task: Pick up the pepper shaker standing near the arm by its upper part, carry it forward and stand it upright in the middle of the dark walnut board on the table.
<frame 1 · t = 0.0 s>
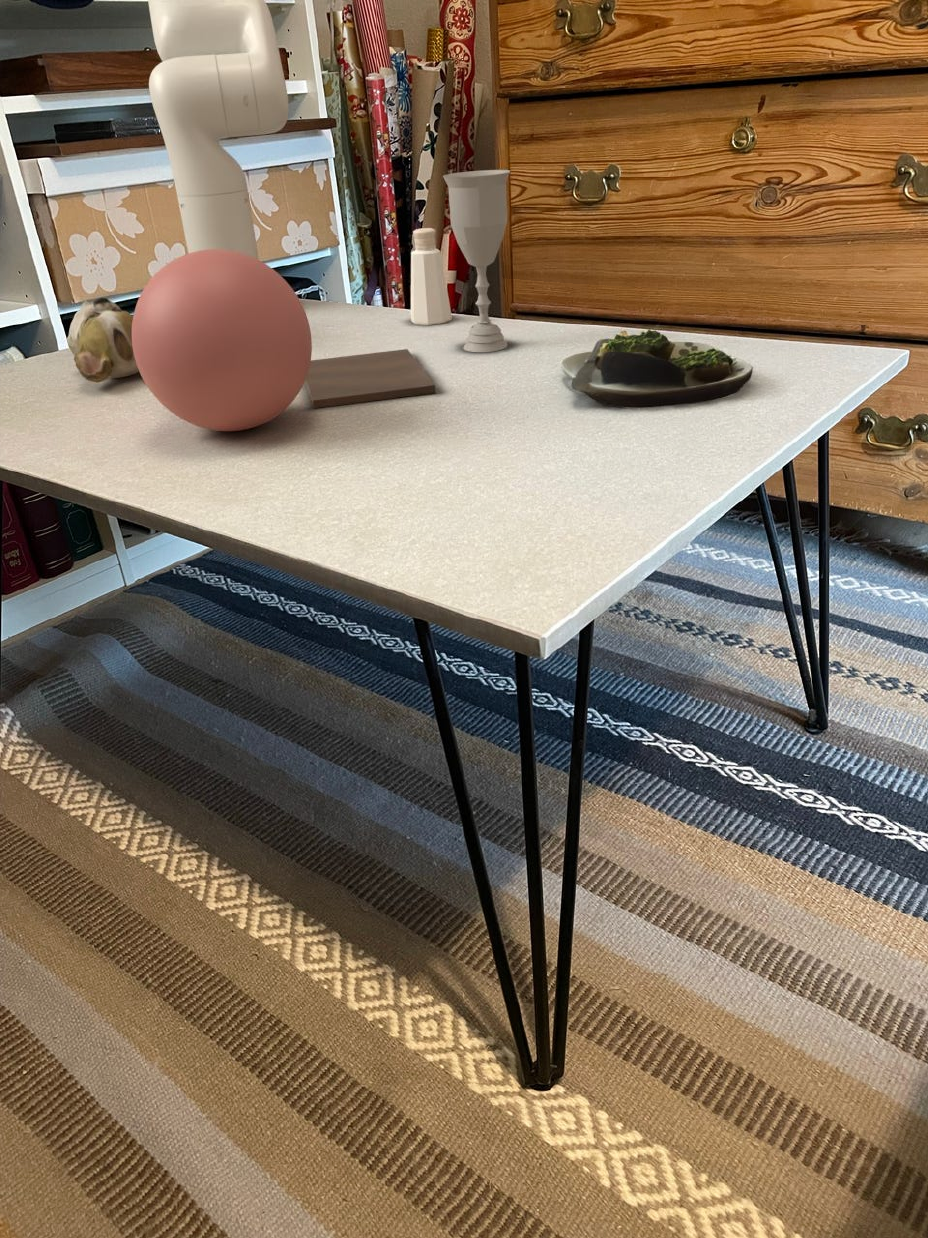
chalice: (485, 348, 108), on the table
pepper shaker: (431, 322, 122), on the table
salad plate: (650, 385, 91), on the table
ceramic sculpture: (121, 376, 108), on the table
balloon: (230, 423, 89), on the table
walnut board: (364, 380, 99), on the table
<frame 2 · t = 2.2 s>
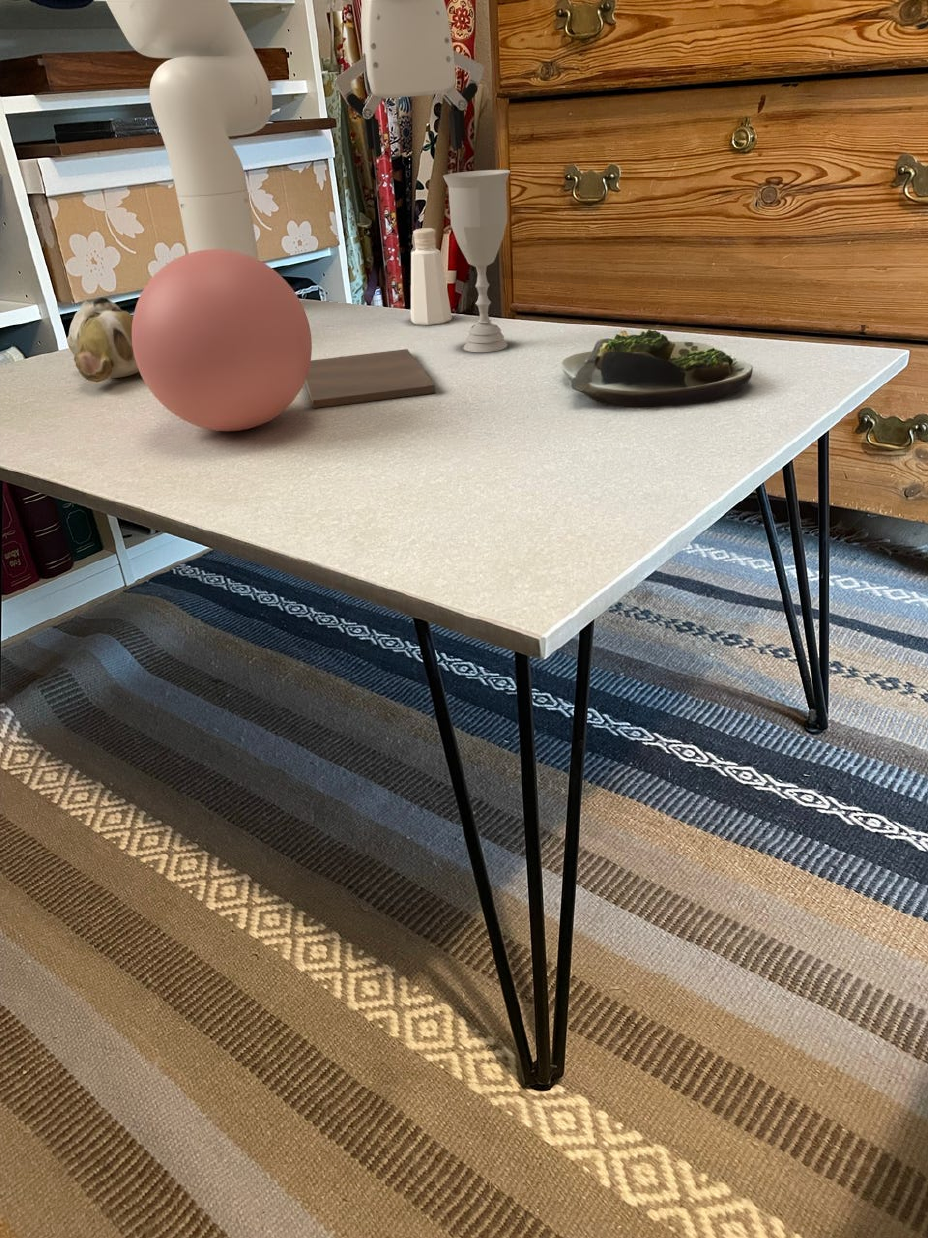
hand: (417, 152, 113), 20 cm above the table, tool pointing down, fingers open, 9 cm apart
nothing on the table moved.
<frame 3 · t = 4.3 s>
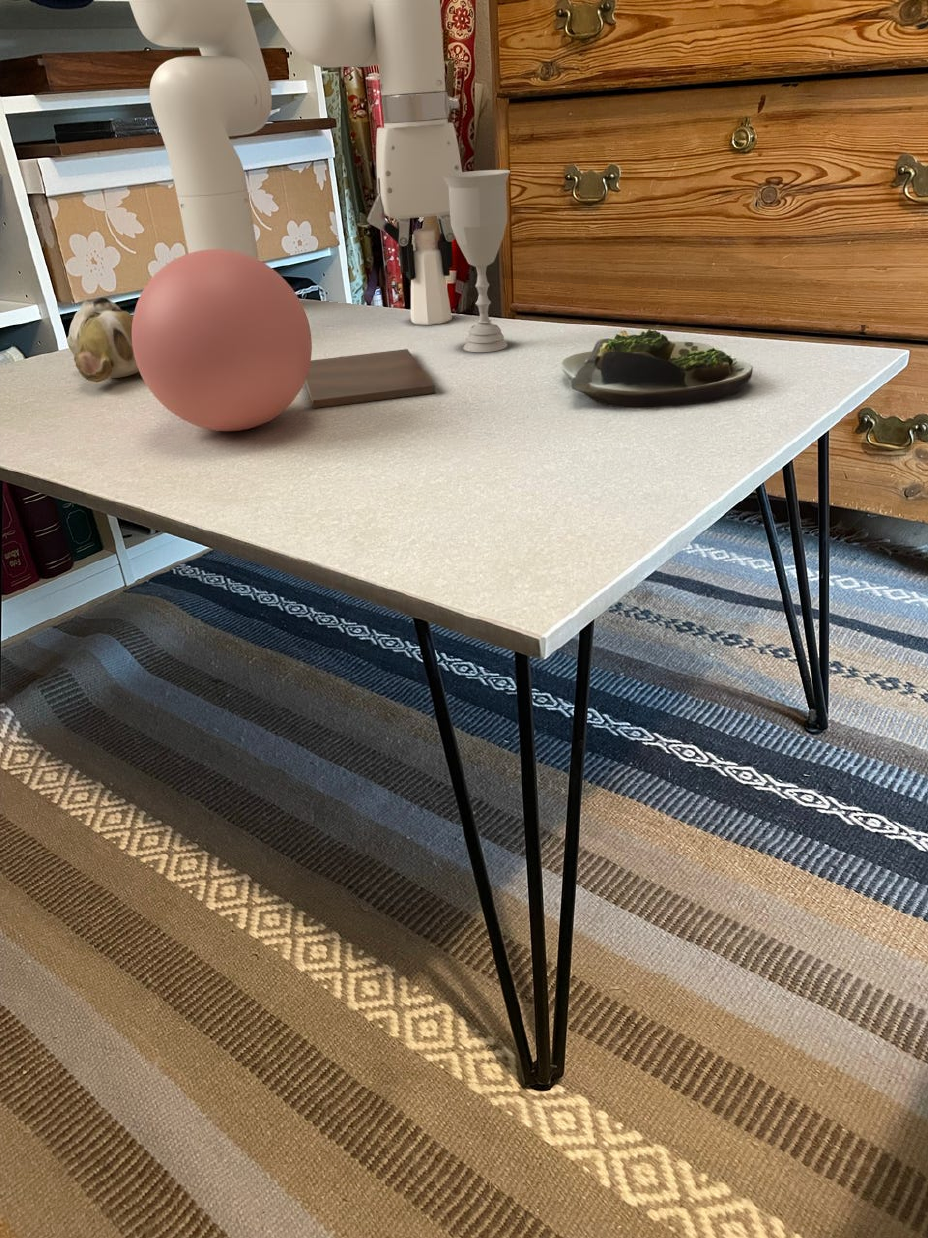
hand: (427, 274, 120), 6 cm above the table, tool pointing down, fingers closed on pepper shaker, 3 cm apart
pepper shaker: (431, 322, 122), on the table, touching gripper
everything else where it was.
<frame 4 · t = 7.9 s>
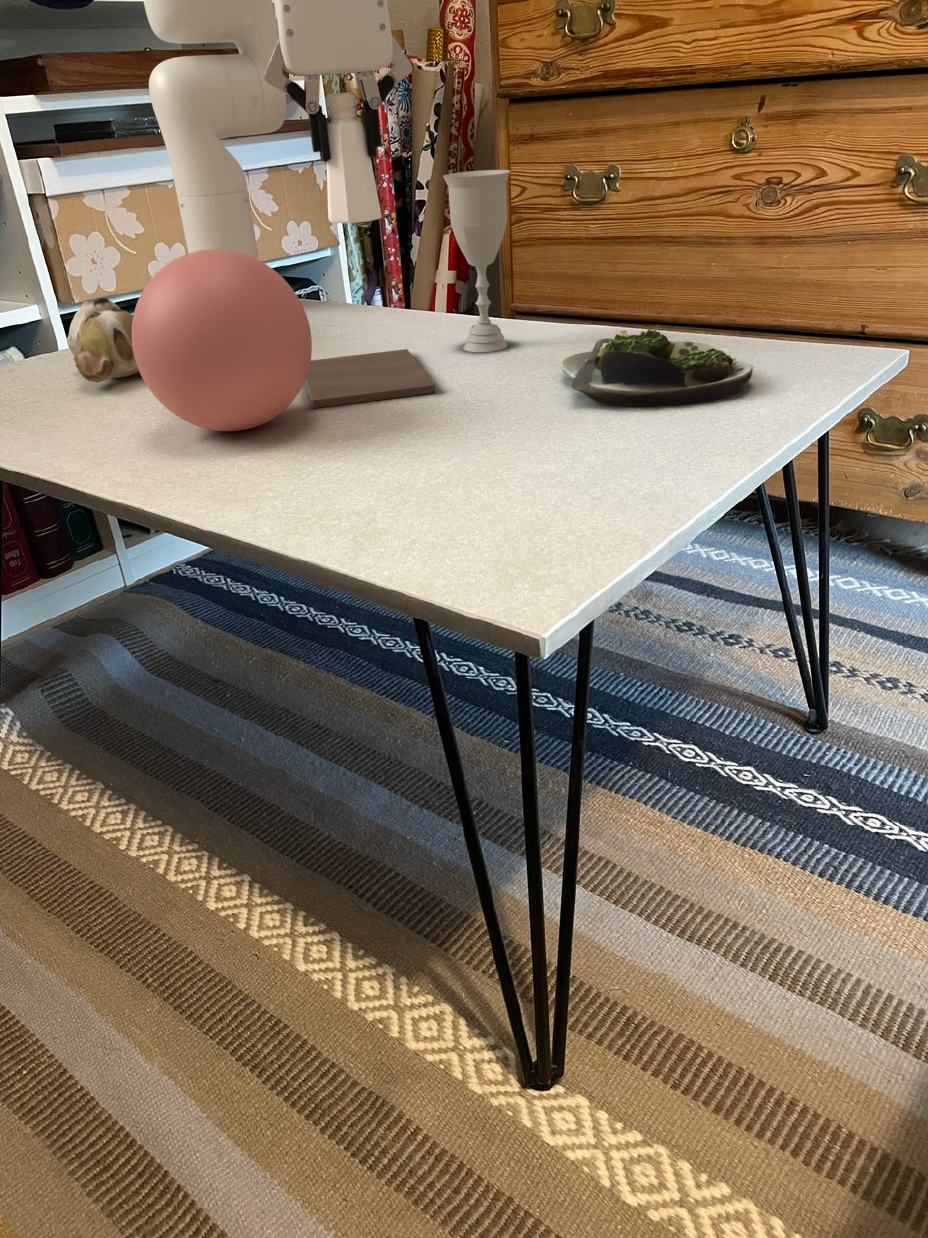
hand: (348, 156, 91), 21 cm above the table, tool pointing down, fingers closed on pepper shaker, 3 cm apart
pepper shaker: (355, 221, 94), point 15 cm above the table, touching gripper
everything else where it was.
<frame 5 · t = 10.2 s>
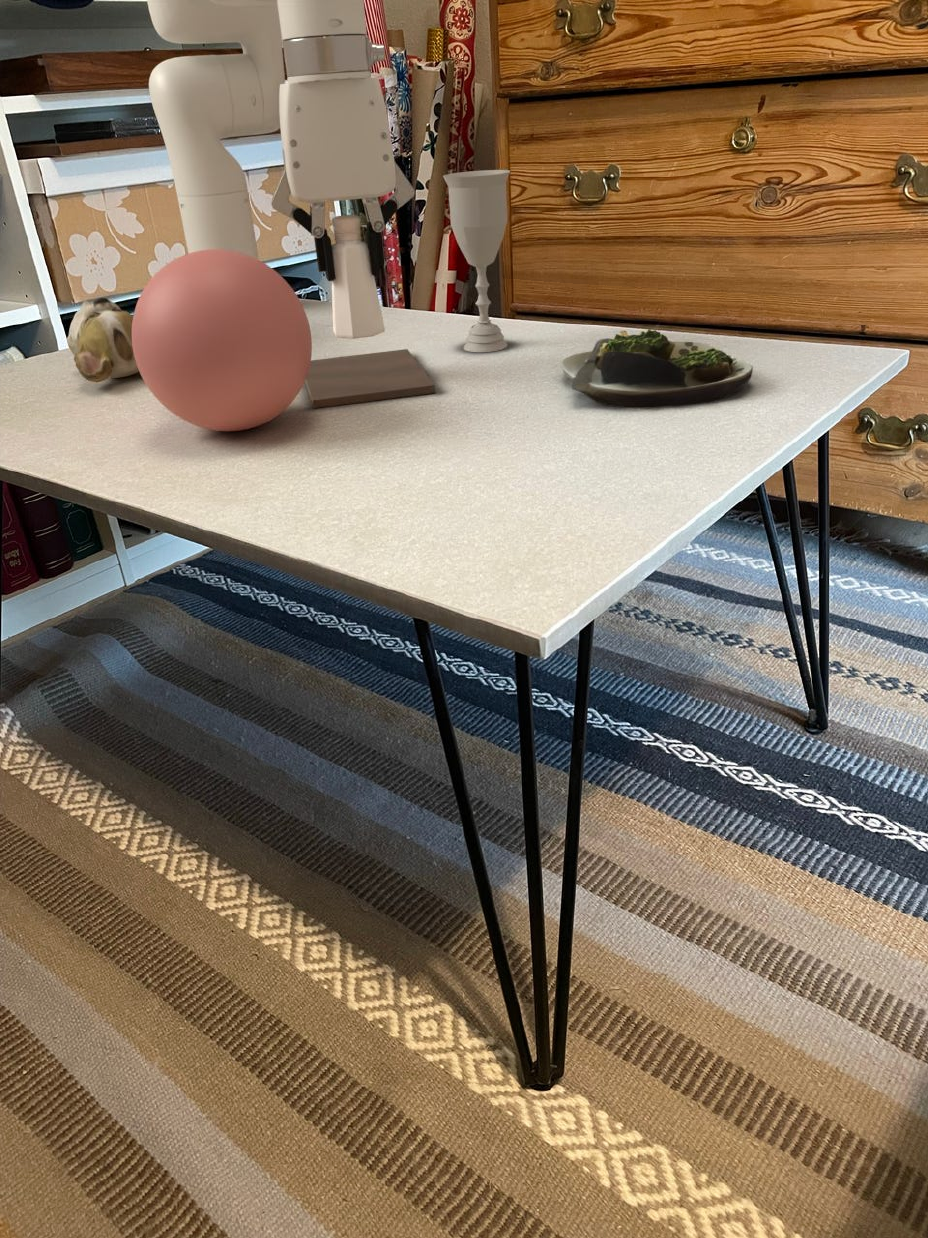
hand: (352, 274, 94), 11 cm above the table, tool pointing down, fingers closed on pepper shaker, 3 cm apart
pepper shaker: (359, 334, 97), point 5 cm above the table, touching gripper
everything else where it was.
when the fingers open (6 cm above the table, at t = 11.5 s): pepper shaker stays where it is, resting on walnut board.
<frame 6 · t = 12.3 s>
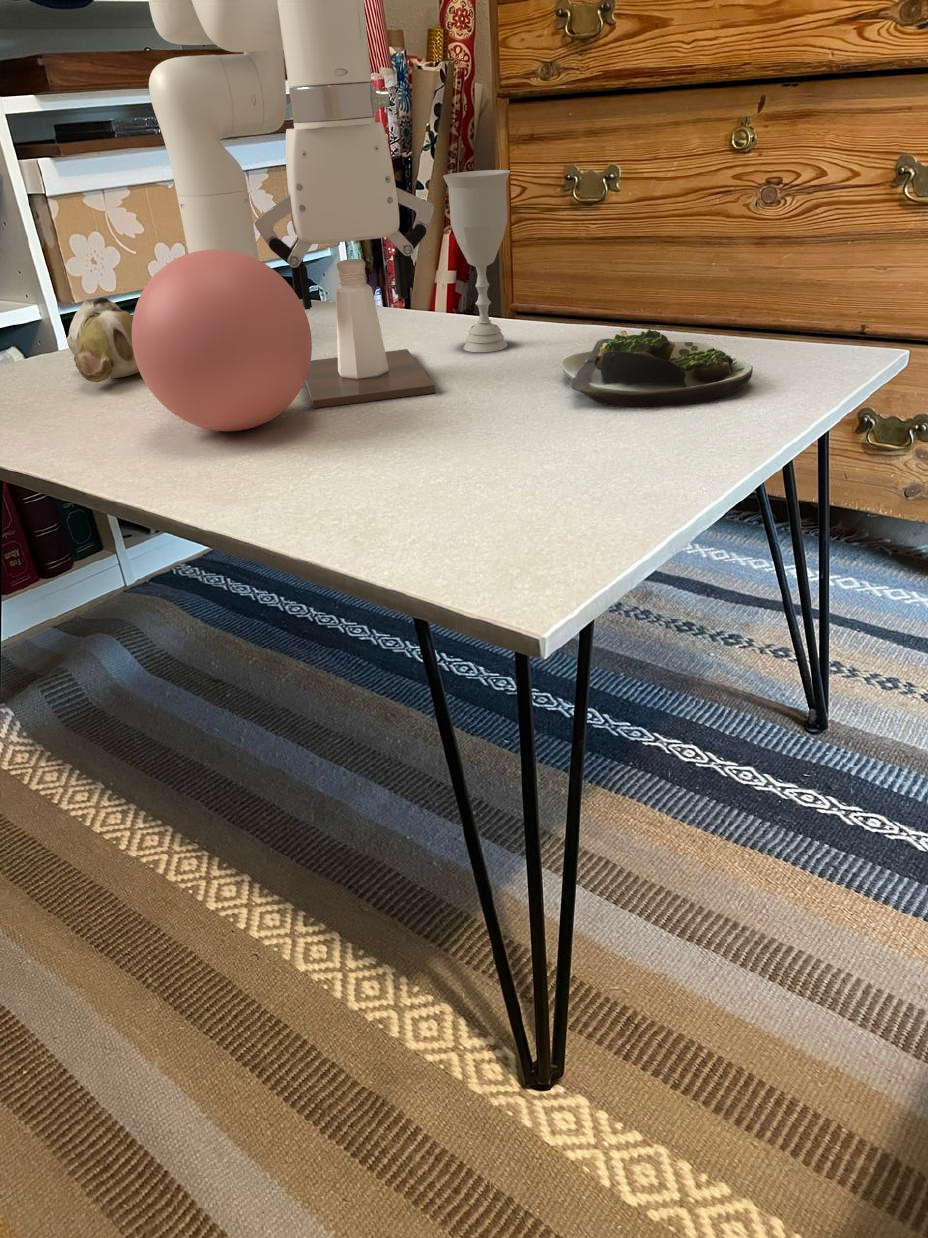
hand: (355, 301, 95), 8 cm above the table, tool pointing down, fingers open, 9 cm apart
pepper shaker: (363, 374, 99), point 1 cm above the table, touching walnut board
everything else where it was.
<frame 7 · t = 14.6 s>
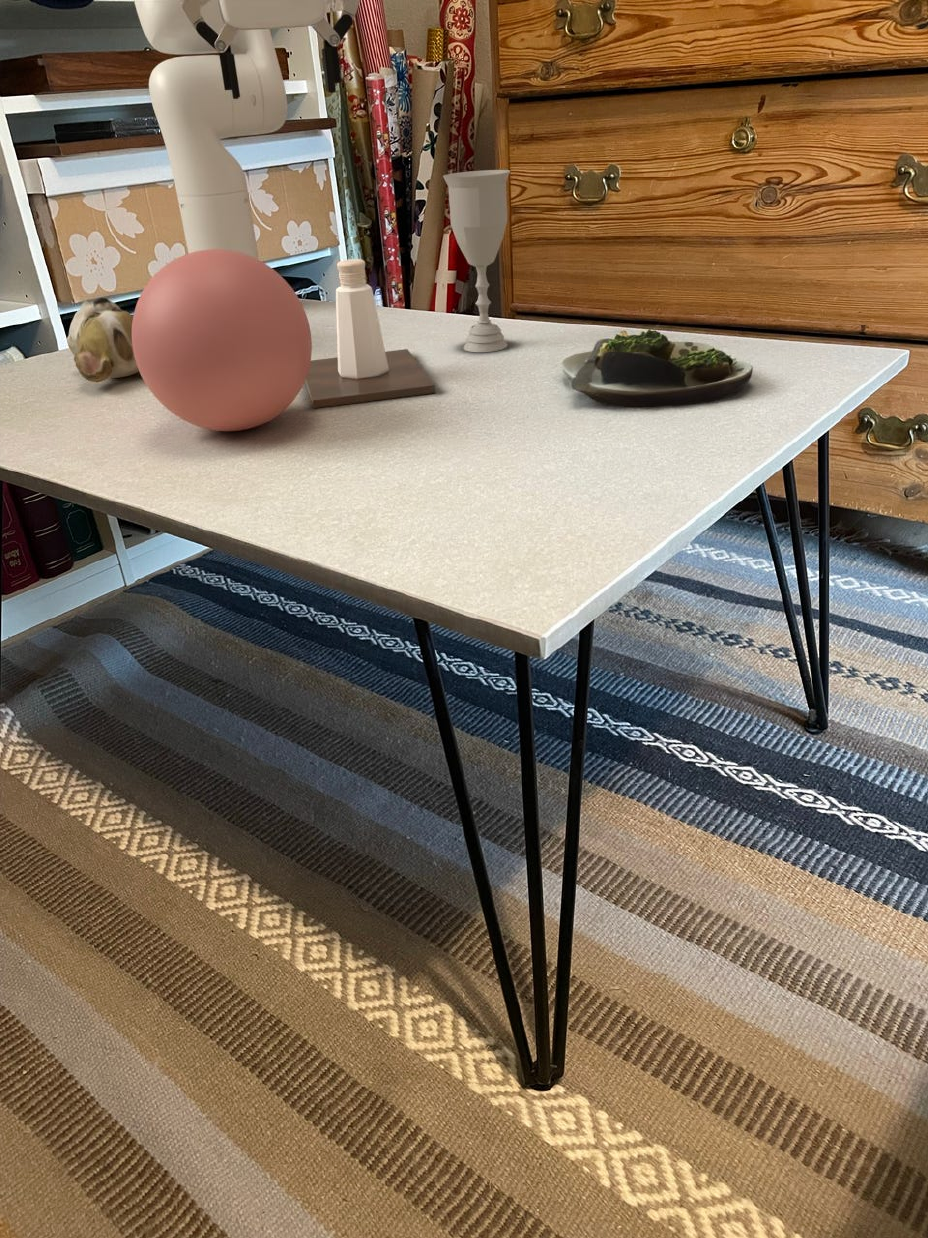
hand: (284, 95, 97), 26 cm above the table, tool pointing down, fingers open, 9 cm apart
nothing on the table moved.
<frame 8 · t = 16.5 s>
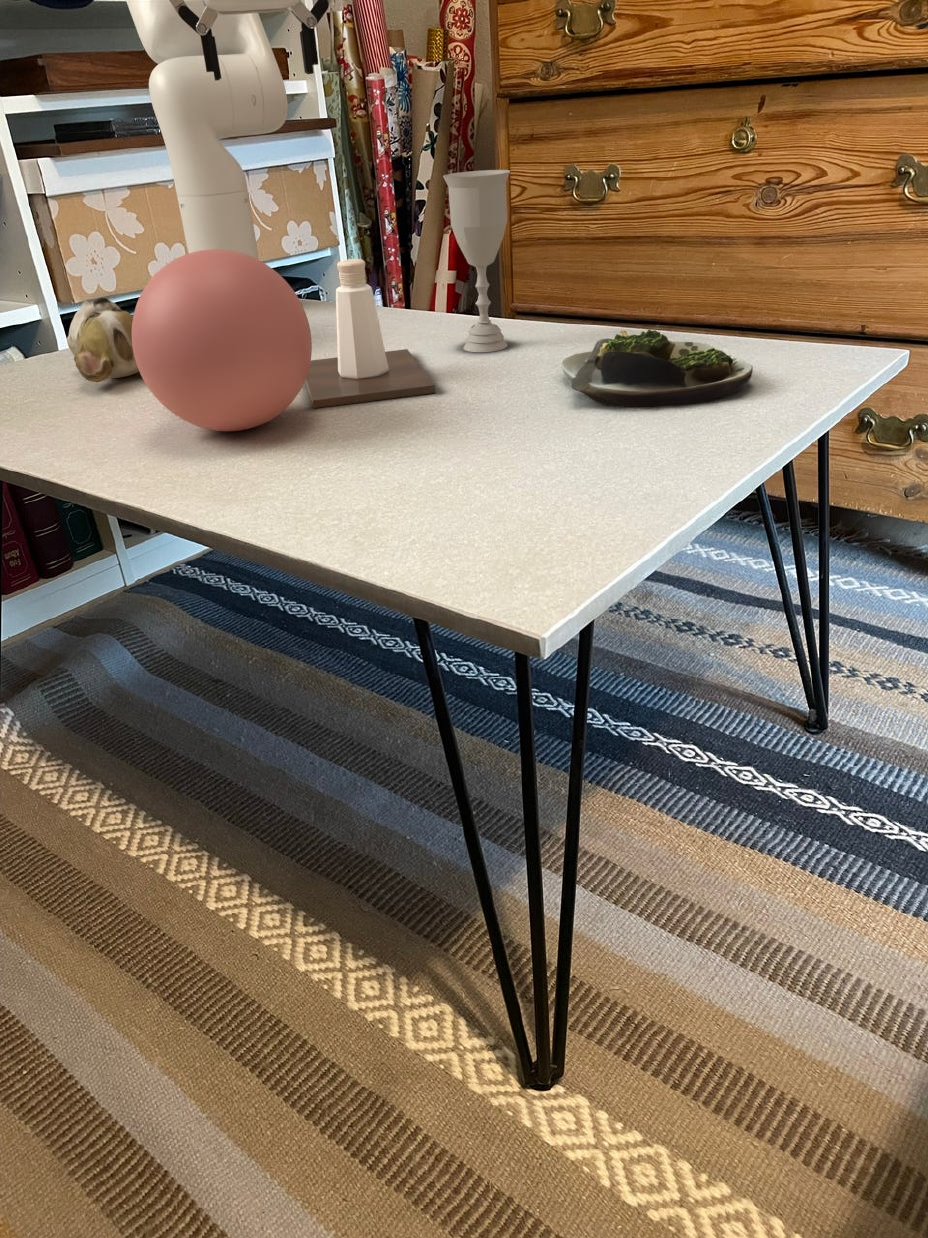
hand: (264, 76, 101), 28 cm above the table, tool pointing down, fingers open, 9 cm apart
nothing on the table moved.
at the end: pepper shaker inside the target area on the walnut board (0.1 cm from its centre), point 0.6 cm above the walnut board's base; pepper shaker tilted 0°; the gripper is holding nothing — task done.
